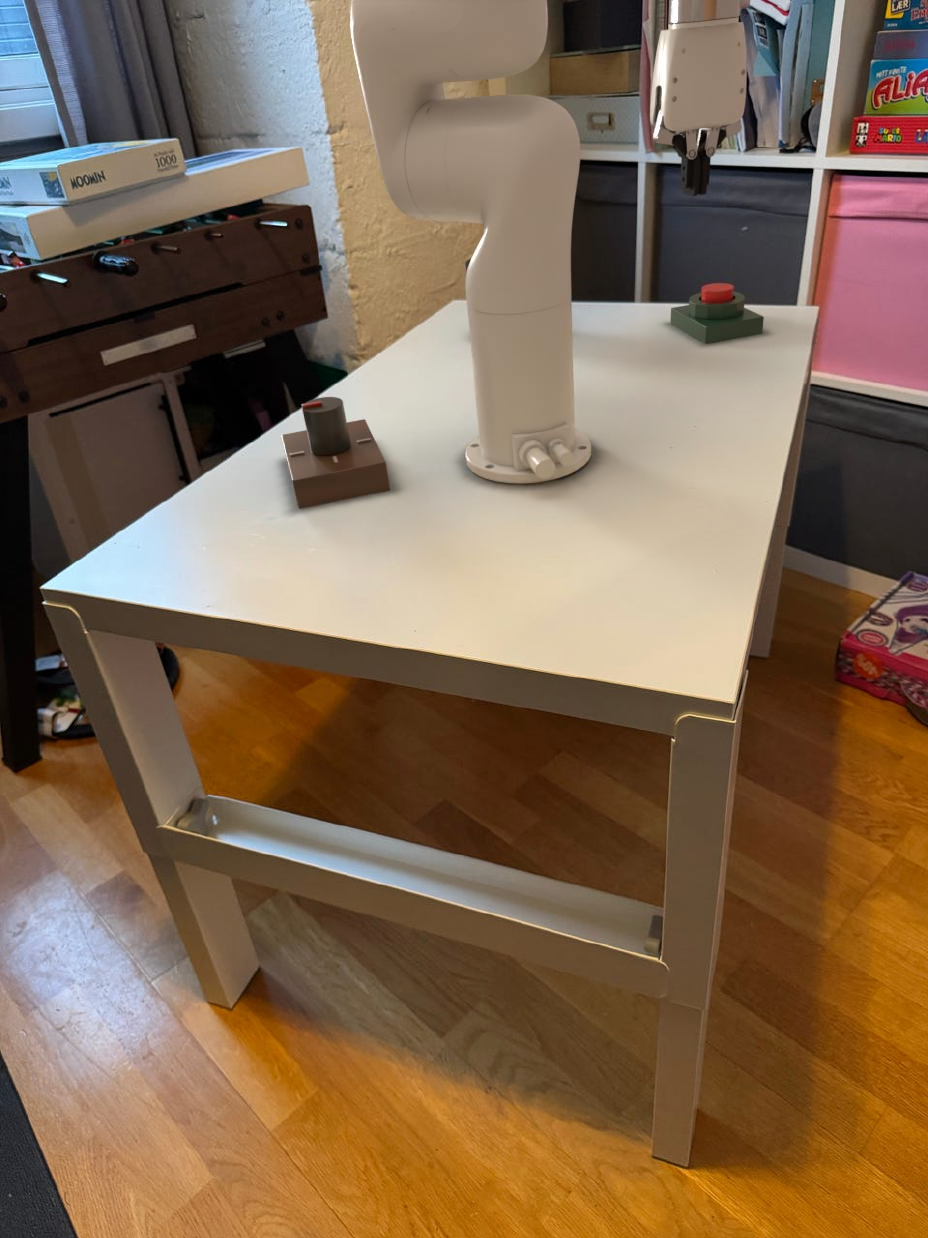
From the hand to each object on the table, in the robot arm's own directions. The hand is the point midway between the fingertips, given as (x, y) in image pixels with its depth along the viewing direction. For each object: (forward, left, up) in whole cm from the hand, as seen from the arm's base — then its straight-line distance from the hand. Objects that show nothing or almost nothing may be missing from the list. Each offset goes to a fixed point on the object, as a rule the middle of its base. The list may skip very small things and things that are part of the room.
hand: (694, 193), depth 107 cm
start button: (0, -4, -13) cm, 14 cm away
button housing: (0, -4, -17) cm, 17 cm away
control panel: (-22, +50, -17) cm, 58 cm away
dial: (-22, +50, -14) cm, 57 cm away
